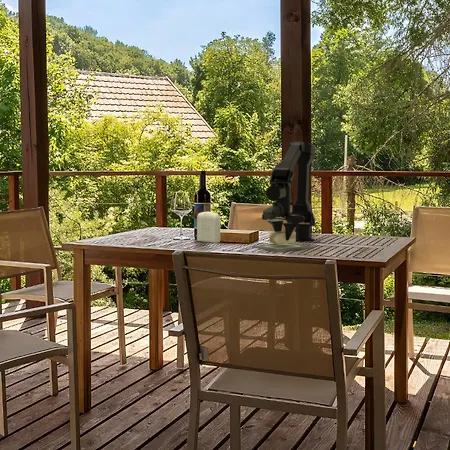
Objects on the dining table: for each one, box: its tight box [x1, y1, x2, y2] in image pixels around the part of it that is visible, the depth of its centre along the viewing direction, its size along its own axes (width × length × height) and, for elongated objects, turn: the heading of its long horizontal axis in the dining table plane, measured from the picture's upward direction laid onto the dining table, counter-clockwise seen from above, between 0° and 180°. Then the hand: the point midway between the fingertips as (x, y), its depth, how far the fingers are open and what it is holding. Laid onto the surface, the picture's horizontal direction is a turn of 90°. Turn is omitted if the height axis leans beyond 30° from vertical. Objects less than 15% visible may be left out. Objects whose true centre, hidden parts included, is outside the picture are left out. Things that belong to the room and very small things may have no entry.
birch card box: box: [268, 230, 297, 244], centre depth 268 cm, size 5×9×4 cm, turn 126°
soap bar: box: [196, 211, 221, 244], centre depth 285 cm, size 10×4×12 cm, turn 56°
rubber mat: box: [251, 242, 315, 253], centre depth 269 cm, size 18×16×1 cm
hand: (282, 239), depth 268 cm, fingers closed on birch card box, 5 cm apart
